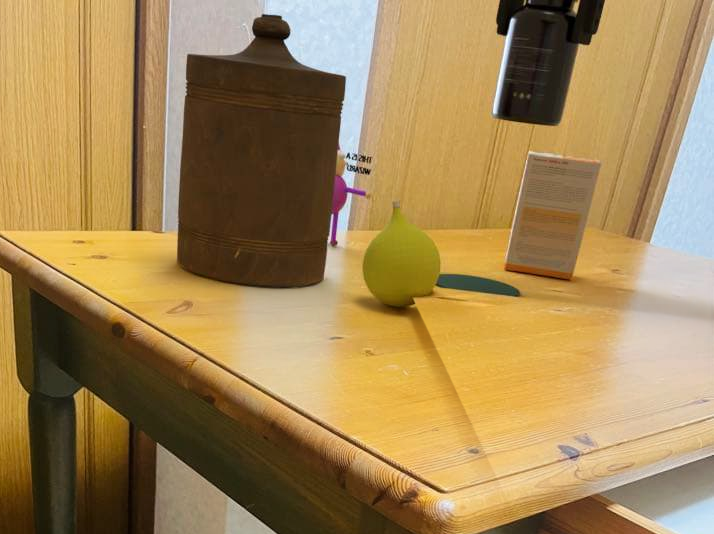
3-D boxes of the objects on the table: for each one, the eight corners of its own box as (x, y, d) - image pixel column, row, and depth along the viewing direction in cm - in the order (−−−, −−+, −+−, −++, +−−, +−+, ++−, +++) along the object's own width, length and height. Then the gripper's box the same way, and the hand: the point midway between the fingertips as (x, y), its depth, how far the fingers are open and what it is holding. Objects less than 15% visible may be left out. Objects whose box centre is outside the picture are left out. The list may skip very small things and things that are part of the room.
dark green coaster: (509, 282, 95) (509, 280, 95) (528, 302, 87) (529, 300, 87) (425, 271, 95) (425, 269, 95) (437, 291, 86) (437, 289, 86)
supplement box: (569, 274, 104) (600, 159, 98) (571, 281, 100) (603, 162, 94) (503, 263, 105) (528, 148, 99) (502, 269, 101) (528, 151, 95)
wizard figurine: (369, 253, 100) (386, 143, 94) (353, 255, 98) (369, 142, 92) (298, 234, 106) (310, 128, 100) (282, 235, 104) (292, 127, 98)
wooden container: (273, 252, 94) (295, 22, 83) (352, 286, 84) (388, 29, 73) (151, 253, 86) (157, -1, 75) (221, 290, 76) (241, 3, 65)
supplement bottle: (499, 117, 86) (528, -22, 80) (565, 127, 84) (600, -16, 78) (481, 117, 81) (511, -33, 75) (551, 127, 78) (588, -27, 73)
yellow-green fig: (363, 291, 82) (379, 182, 77) (434, 303, 81) (455, 193, 77) (352, 307, 76) (369, 189, 71) (429, 320, 75) (452, 202, 70)
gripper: (714, -198, 69) (645, 53, 77) (521, -190, 77) (478, 35, 86) (689, -229, 63) (618, 44, 72) (484, -217, 72) (442, 27, 80)
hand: (542, 37), depth 79 cm, fingers closed on supplement bottle, 6 cm apart
